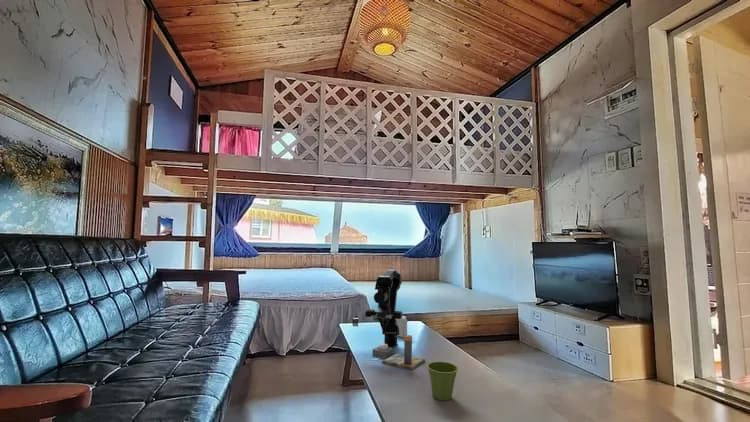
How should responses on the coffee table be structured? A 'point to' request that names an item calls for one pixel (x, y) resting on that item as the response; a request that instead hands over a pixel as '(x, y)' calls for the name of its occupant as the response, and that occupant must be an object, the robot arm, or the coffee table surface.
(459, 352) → the coffee table surface
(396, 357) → the picture board
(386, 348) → the button
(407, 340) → the marker
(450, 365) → the plant pot
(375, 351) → the button housing
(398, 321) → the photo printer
